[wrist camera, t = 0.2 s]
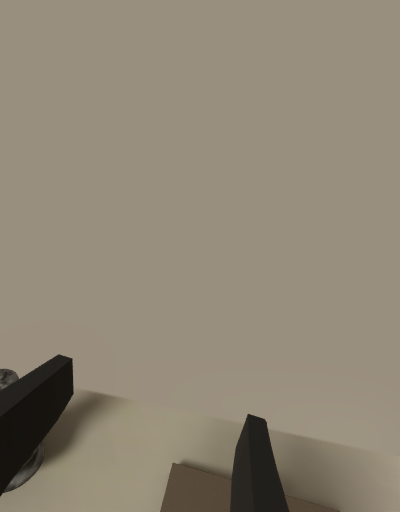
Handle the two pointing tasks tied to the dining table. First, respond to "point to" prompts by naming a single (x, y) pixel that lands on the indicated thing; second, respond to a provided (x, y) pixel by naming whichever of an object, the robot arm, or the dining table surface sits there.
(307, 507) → the valve manifold
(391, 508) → the dining table surface
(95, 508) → the dining table surface
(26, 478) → the salt shaker
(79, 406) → the dining table surface
